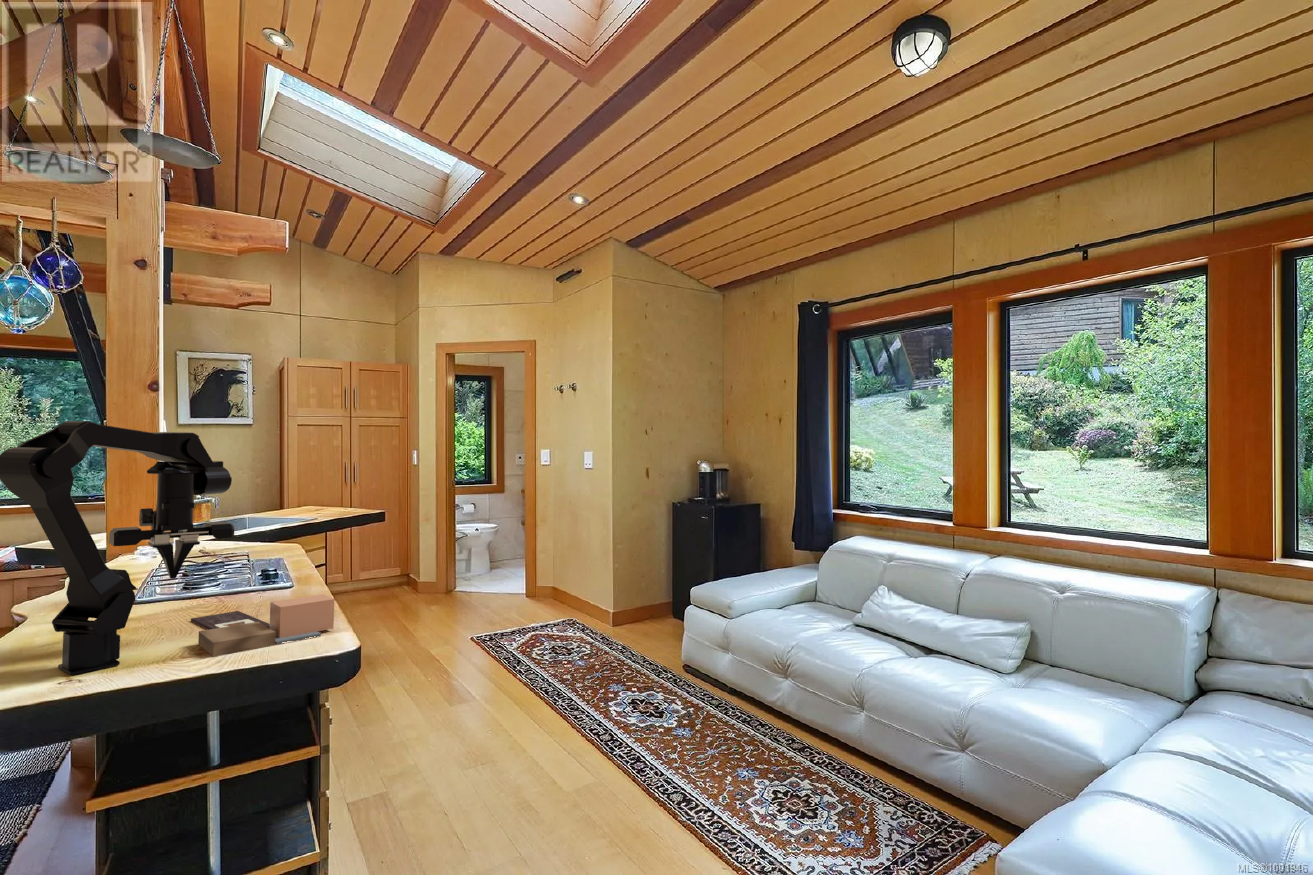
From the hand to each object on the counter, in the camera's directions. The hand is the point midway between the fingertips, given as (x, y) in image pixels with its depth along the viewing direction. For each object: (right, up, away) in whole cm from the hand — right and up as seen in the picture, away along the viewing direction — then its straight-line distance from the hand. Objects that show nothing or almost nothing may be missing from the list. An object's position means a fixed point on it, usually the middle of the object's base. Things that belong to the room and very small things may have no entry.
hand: (172, 578), depth 124 cm
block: (+18, -9, +3) cm, 20 cm away
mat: (+20, -13, +5) cm, 24 cm away
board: (+14, -12, -2) cm, 18 cm away
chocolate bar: (+3, -13, +12) cm, 18 cm away
